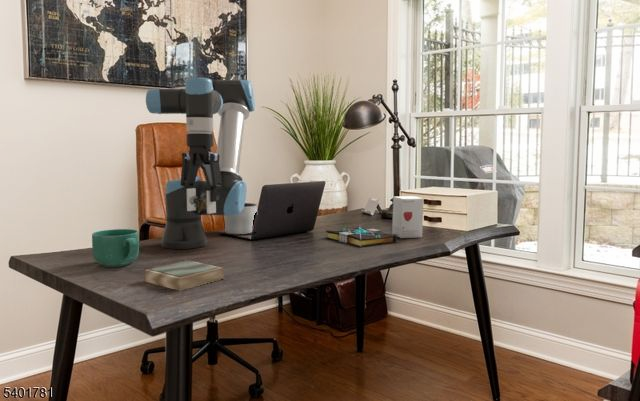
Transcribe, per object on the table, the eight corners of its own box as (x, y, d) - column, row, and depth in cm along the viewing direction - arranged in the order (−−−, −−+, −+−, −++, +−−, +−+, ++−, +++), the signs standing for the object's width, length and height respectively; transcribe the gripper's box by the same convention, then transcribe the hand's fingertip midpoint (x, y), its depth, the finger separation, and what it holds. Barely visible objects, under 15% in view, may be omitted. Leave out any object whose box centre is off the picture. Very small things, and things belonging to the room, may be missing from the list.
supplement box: (400, 238, 199) (401, 198, 198) (391, 234, 208) (392, 196, 206) (423, 237, 201) (424, 198, 200) (413, 233, 210) (414, 195, 208)
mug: (86, 264, 155) (84, 231, 154) (127, 257, 164) (126, 227, 163) (110, 274, 144) (108, 239, 142) (153, 267, 152) (152, 234, 151)
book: (397, 243, 191) (398, 230, 191) (361, 248, 182) (361, 234, 181) (360, 235, 209) (360, 222, 209) (324, 239, 200) (324, 226, 199)
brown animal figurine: (217, 209, 153) (226, 200, 161) (202, 189, 152) (212, 181, 160) (196, 223, 155) (206, 213, 163) (182, 203, 154) (192, 194, 162)
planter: (221, 231, 212) (220, 203, 211) (251, 229, 218) (250, 202, 217) (230, 236, 201) (230, 207, 200) (262, 234, 207) (262, 205, 206)
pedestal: (144, 281, 136) (144, 269, 136) (189, 271, 147) (188, 259, 147) (179, 291, 128) (179, 277, 128) (223, 279, 139) (223, 267, 139)
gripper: (166, 133, 156) (168, 210, 159) (214, 132, 144) (215, 216, 146) (186, 133, 162) (188, 207, 165) (235, 133, 150) (235, 213, 152)
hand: (201, 211), depth 156 cm, fingers closed on brown animal figurine, 8 cm apart
